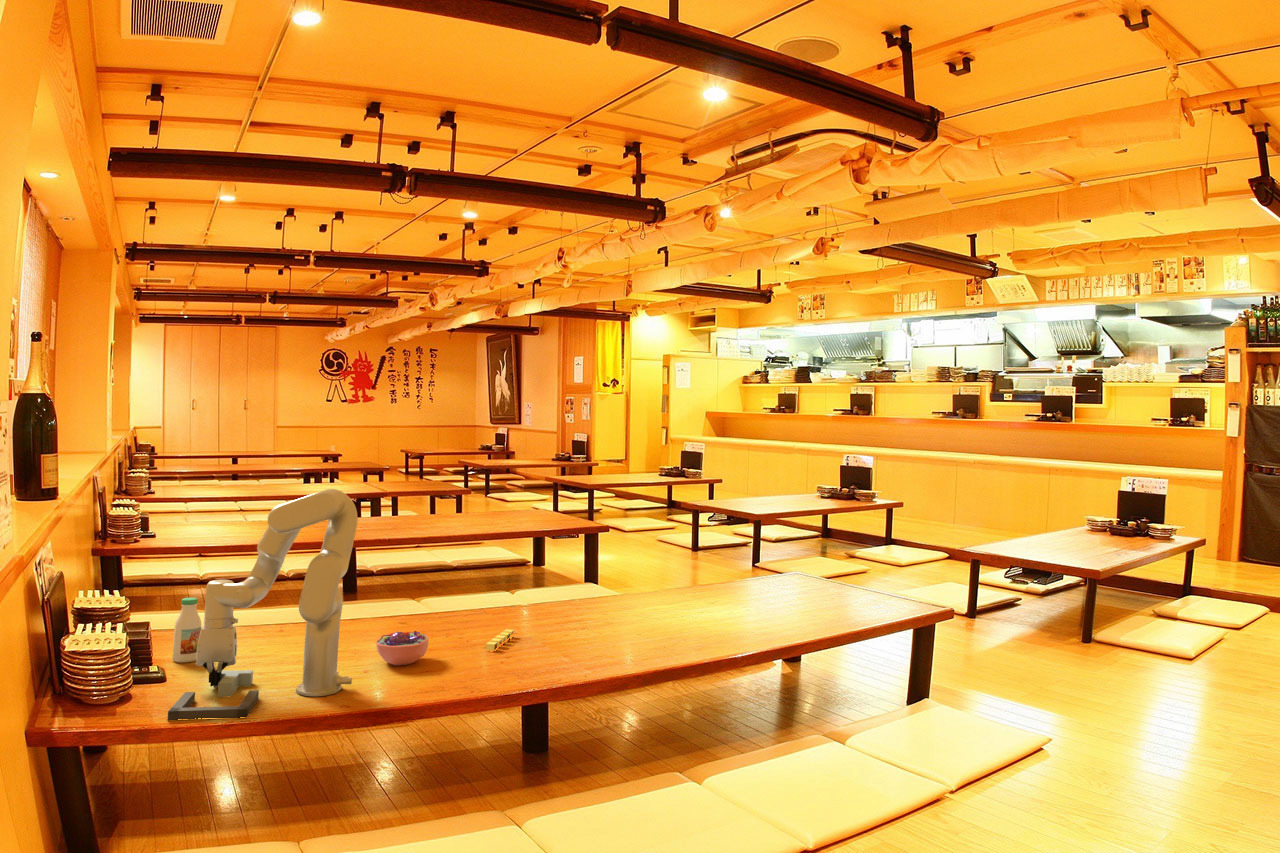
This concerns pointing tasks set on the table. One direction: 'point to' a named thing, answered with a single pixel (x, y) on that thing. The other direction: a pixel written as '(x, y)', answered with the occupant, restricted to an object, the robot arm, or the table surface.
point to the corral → (211, 708)
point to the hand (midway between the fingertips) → (214, 684)
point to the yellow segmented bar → (499, 639)
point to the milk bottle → (186, 632)
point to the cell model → (402, 647)
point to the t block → (233, 681)
